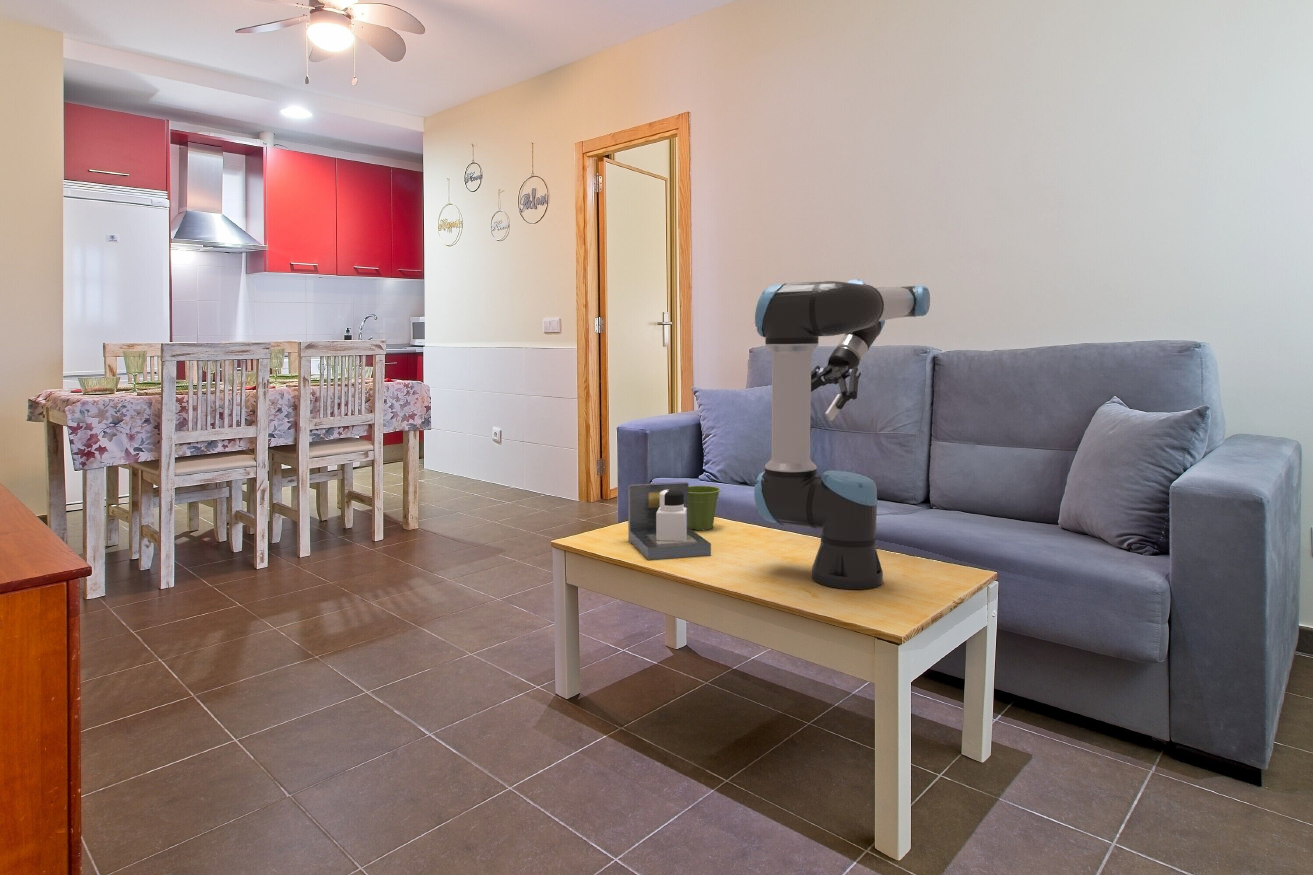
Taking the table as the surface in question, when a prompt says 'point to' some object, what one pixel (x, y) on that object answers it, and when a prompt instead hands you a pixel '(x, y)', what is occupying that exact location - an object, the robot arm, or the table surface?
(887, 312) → the robot arm
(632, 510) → the bookend
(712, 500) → the plant pot
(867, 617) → the table surface
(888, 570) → the table surface
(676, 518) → the medicine bottle
